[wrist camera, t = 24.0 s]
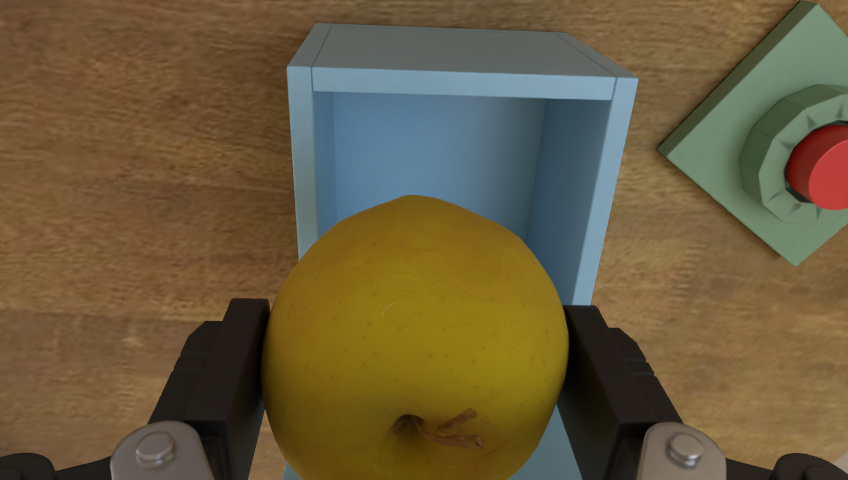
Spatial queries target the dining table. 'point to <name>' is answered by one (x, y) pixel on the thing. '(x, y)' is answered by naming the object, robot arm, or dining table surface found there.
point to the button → (821, 167)
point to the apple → (413, 348)
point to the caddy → (463, 133)
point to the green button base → (770, 131)
